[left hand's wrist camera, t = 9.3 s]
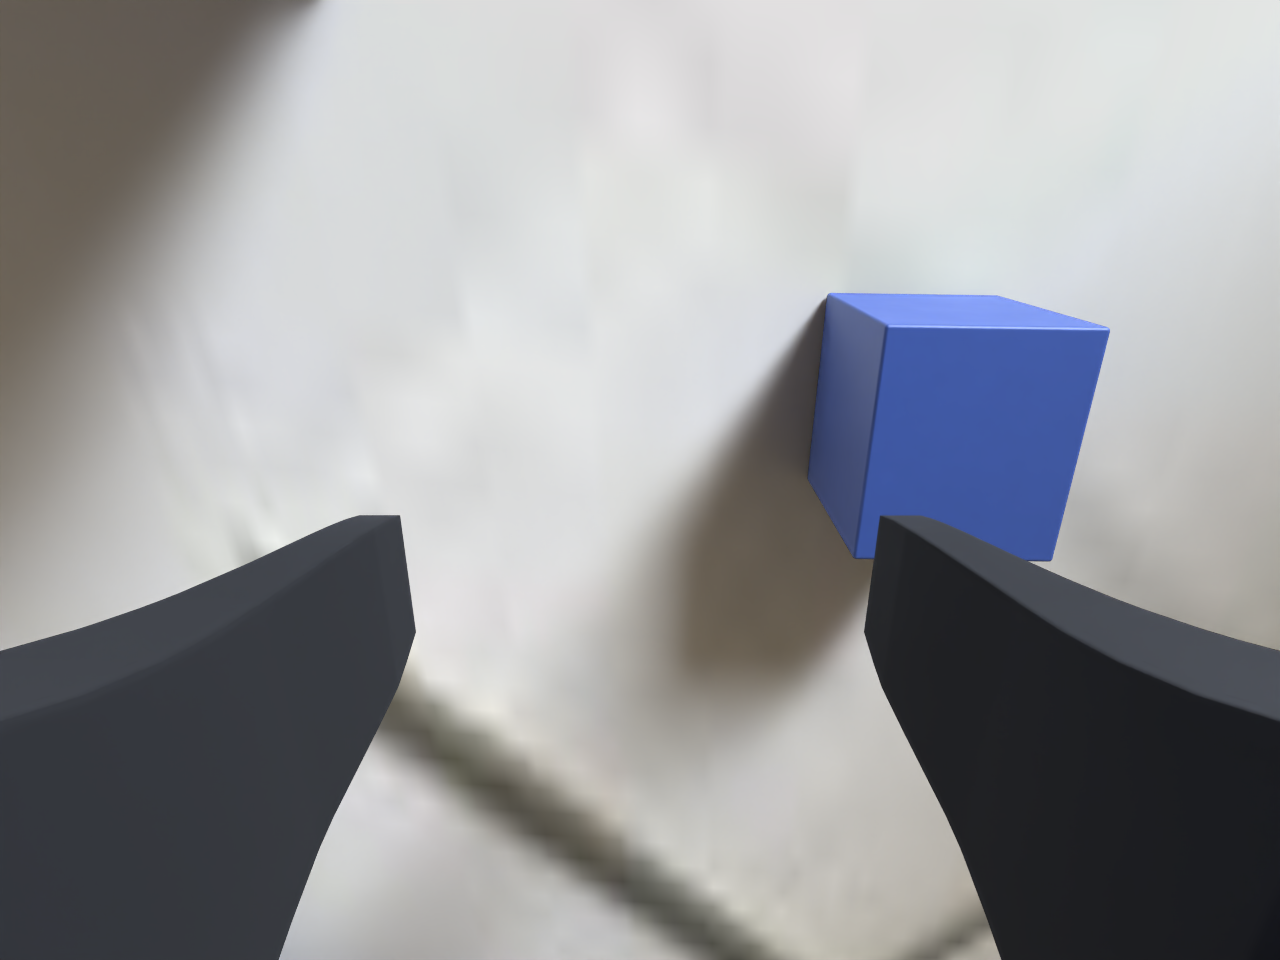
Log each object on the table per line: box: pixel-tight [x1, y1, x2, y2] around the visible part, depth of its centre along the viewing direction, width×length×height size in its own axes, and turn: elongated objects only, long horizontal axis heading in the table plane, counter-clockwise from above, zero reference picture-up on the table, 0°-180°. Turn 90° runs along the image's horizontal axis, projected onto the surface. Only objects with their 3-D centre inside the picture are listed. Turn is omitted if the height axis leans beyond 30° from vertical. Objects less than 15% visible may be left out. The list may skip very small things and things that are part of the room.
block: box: [808, 293, 1110, 561], centre depth 17 cm, size 4×5×5 cm
